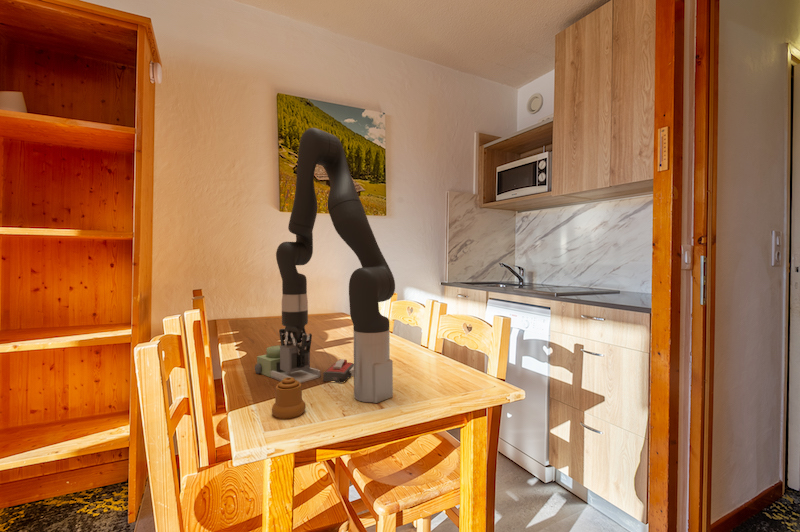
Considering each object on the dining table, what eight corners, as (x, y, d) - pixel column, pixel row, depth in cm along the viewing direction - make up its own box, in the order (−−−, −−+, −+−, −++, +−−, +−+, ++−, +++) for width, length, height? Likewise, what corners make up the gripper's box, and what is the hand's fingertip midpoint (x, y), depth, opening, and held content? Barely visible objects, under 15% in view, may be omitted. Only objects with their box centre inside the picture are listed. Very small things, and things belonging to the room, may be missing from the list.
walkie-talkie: (350, 385, 109) (366, 365, 129) (350, 370, 109) (366, 352, 129) (320, 384, 110) (341, 364, 130) (320, 368, 110) (341, 351, 130)
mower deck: (322, 376, 116) (322, 351, 116) (288, 386, 107) (288, 359, 107) (287, 364, 129) (287, 342, 128) (254, 372, 120) (254, 349, 120)
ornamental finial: (277, 407, 93) (308, 406, 93) (267, 420, 85) (301, 419, 85) (277, 374, 93) (308, 373, 93) (266, 384, 85) (300, 384, 85)
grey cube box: (310, 367, 116) (310, 344, 116) (289, 373, 111) (289, 348, 111) (300, 364, 120) (300, 342, 119) (280, 369, 114) (279, 346, 114)
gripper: (319, 309, 113) (320, 367, 113) (292, 305, 122) (292, 358, 123) (297, 312, 107) (298, 373, 108) (270, 308, 117) (271, 363, 117)
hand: (295, 365), depth 115 cm, fingers closed on grey cube box, 5 cm apart
